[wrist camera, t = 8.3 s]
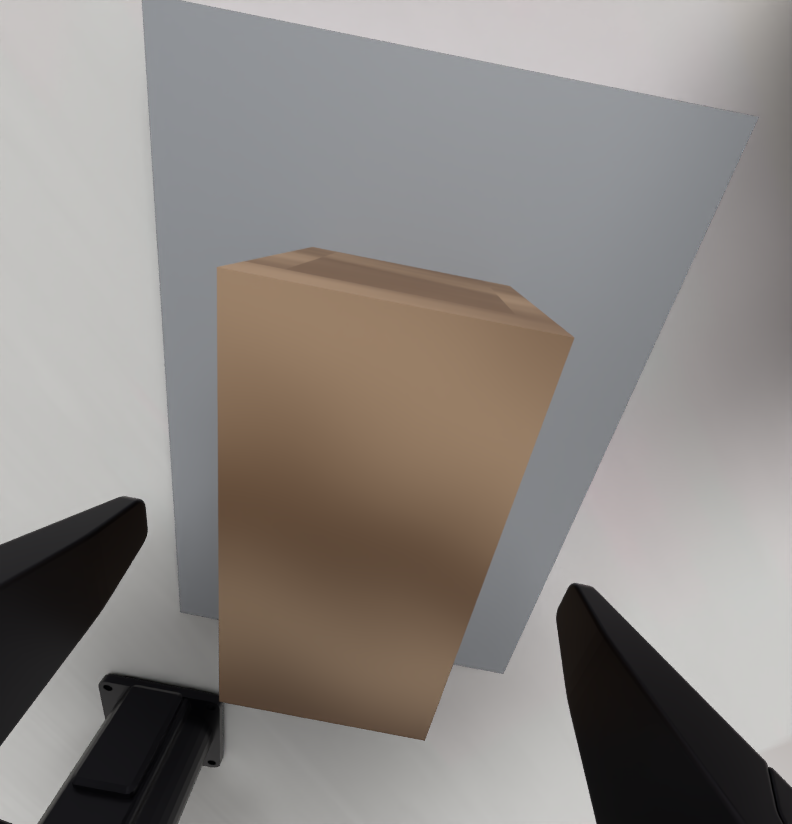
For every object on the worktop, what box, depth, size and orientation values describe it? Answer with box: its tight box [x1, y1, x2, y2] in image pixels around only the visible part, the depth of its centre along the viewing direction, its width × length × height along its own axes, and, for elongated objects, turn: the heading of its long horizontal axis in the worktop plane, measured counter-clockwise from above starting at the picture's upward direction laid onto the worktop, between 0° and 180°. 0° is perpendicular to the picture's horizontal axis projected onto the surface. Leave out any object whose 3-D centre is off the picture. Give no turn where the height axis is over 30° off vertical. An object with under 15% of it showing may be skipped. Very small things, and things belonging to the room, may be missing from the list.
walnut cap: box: [217, 247, 574, 741], centre depth 11 cm, size 11×5×6 cm, turn 170°
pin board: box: [142, 0, 759, 674], centre depth 13 cm, size 20×14×5 cm
